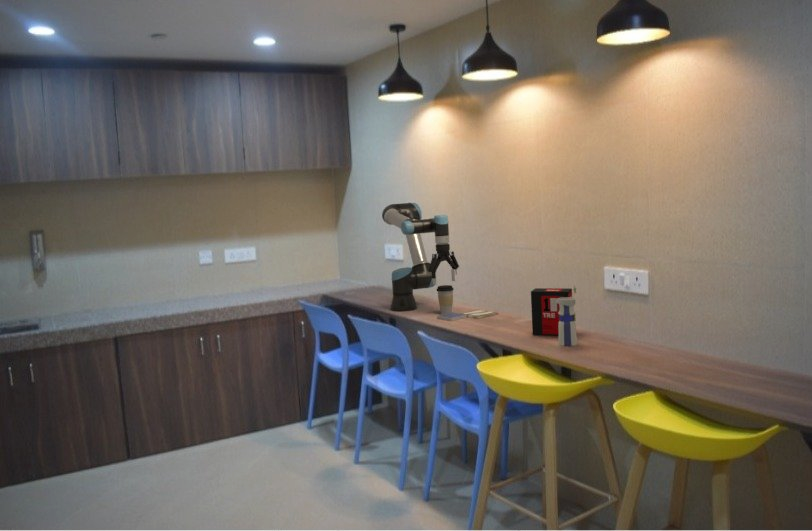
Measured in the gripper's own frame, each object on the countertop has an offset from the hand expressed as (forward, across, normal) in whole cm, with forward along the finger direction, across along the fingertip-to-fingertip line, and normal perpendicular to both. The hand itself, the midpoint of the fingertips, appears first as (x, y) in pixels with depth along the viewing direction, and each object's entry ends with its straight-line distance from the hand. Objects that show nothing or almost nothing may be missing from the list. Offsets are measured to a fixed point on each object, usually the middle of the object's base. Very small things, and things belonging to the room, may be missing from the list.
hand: (444, 282), depth 374 cm
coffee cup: (+17, 0, 0) cm, 17 cm away
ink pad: (+17, -7, -12) cm, 22 cm away
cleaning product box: (+18, -6, -78) cm, 80 cm away
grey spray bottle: (+18, -18, -95) cm, 98 cm away
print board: (+17, +7, -18) cm, 25 cm away
